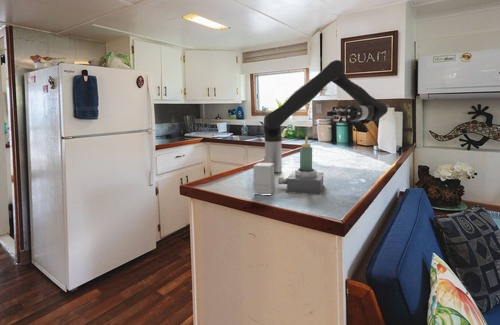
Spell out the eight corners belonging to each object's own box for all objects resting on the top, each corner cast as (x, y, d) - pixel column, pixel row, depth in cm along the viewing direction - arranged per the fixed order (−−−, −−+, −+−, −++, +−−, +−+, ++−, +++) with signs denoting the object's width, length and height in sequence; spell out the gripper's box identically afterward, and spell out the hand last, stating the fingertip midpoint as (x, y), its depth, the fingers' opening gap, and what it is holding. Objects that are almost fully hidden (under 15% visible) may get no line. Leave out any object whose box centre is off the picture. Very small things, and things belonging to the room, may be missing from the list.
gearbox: (275, 191, 133) (275, 172, 132) (282, 183, 148) (282, 165, 147) (320, 194, 128) (320, 174, 126) (323, 185, 143) (323, 166, 141)
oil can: (299, 175, 135) (299, 137, 132) (300, 173, 140) (300, 136, 137) (311, 176, 133) (311, 137, 130) (312, 173, 138) (312, 136, 135)
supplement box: (275, 191, 134) (275, 162, 132) (270, 196, 127) (270, 166, 125) (258, 190, 136) (258, 162, 134) (253, 195, 130) (252, 165, 127)
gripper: (345, 105, 161) (323, 106, 152) (369, 105, 149) (346, 105, 140) (345, 120, 162) (323, 121, 154) (368, 120, 150) (346, 122, 142)
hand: (334, 113), depth 147 cm, fingers open, 8 cm apart
